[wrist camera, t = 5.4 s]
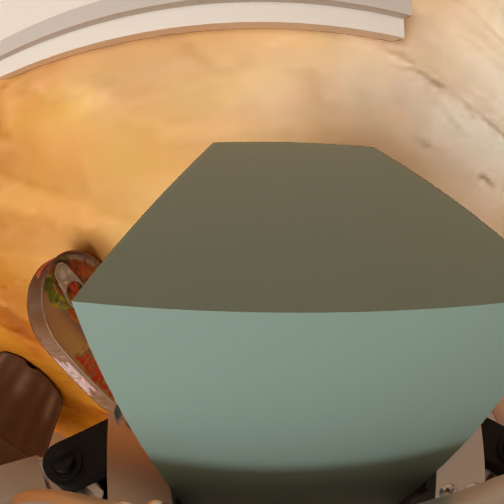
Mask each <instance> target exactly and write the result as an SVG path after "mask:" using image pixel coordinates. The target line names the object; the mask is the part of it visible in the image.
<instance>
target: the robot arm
mask: <svg viewBox="0 0 504 504" xmlns="http://www.w3.org/2000/svg"><path fill="white" fill-rule="evenodd" d="M492 413H493V416H494V418H495V420H496V422H495V421H493V420H491V419H489V418H486V419H485V420H484V422H483V423H482V424H481V425H480V426H479V427H478V429H477V430H476V431H475V432H474V433H473V434H472V435H471V437H470V438H469V439H468V440H467V441H466V442H465V443H464V444H463V445H462V446H461V447H460V448H459V450H458V451H457V452H456V453H455V454H454V455H453V456H452V457H451V458H450V459H449V460H448V461H447V462H446V463H445V464H444V465H443V466H442V467H440V468H439V469H438V470H437V471H436V472H435V473H434V474H433V475H432V476H431V477H430V478H429V479H428V480H426V481H425V482H424V483H423V484H422V485H421V486H420V487H418V488H417V489H416V490H415V491H414V492H412V493H411V494H410V495H409V496H408V497H406V498H405V499H404V500H403V501H401V502H400V503H399V504H504V396H503V397H502V399H501V400H500V401H499V403H498V404H497V405H496V407H495V408H494V409H493V410H492ZM0 504H181V502H180V501H179V500H178V498H177V497H176V494H175V491H174V490H173V489H172V487H171V486H170V484H167V483H166V482H165V480H164V479H163V478H162V476H161V475H160V473H159V472H158V470H157V469H156V467H155V466H154V464H153V463H152V461H151V460H150V458H149V457H148V455H147V454H146V452H145V451H144V449H143V447H142V446H141V444H140V443H139V441H138V439H137V438H136V436H135V434H134V433H133V431H132V429H131V428H130V426H129V424H128V422H127V421H126V419H125V417H124V415H123V414H122V412H121V410H120V408H119V406H118V404H117V402H116V401H115V400H114V401H113V403H112V404H111V406H110V408H109V413H108V419H106V420H104V421H102V422H100V423H98V424H96V425H94V426H92V427H90V428H88V429H86V430H84V431H82V432H79V433H77V434H75V435H73V436H71V437H69V438H67V439H65V440H62V441H60V442H58V443H56V444H54V445H53V446H51V447H50V448H49V449H48V450H47V451H46V453H45V455H44V456H43V457H39V456H38V455H35V456H32V457H28V458H25V459H21V460H18V461H14V462H11V463H7V464H3V465H0Z"/></svg>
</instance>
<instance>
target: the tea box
mask: <svg viewBox="0 0 504 504" xmlns="http://www.w3.org/2000/svg"><path fill="white" fill-rule="evenodd" d="M72 304H73V307H74V310H75V312H76V315H77V317H78V320H79V323H80V325H81V328H82V330H83V332H84V335H85V337H86V340H87V342H88V344H89V347H90V349H91V351H92V353H93V356H94V358H95V360H96V362H97V364H98V367H99V369H100V371H101V373H102V375H103V377H104V379H105V381H106V383H107V385H108V387H109V389H110V391H111V393H112V395H113V397H114V399H115V401H116V402H117V404H118V406H119V408H120V410H121V412H122V414H123V415H124V417H125V419H126V421H127V422H128V424H129V426H130V428H131V429H132V431H133V433H134V434H135V436H136V438H137V439H138V441H139V443H140V444H141V446H142V447H143V449H144V451H145V452H146V454H147V455H148V457H149V458H150V460H151V461H152V463H153V464H154V466H155V467H156V469H157V470H158V472H159V473H160V475H161V476H162V478H163V479H164V480H165V482H166V483H167V484H170V486H171V487H172V489H173V490H174V491H175V494H176V497H177V498H178V500H179V501H180V502H181V504H399V503H400V502H401V501H403V500H404V499H405V498H406V497H408V496H409V495H410V494H411V493H412V492H414V491H415V490H416V489H417V488H418V487H420V486H421V485H422V484H423V483H424V482H425V481H426V480H428V479H429V478H430V477H431V476H432V475H433V474H434V473H435V472H436V471H437V470H438V469H439V468H440V467H442V466H443V465H444V464H445V463H446V462H447V461H448V460H449V459H450V458H451V457H452V456H453V455H454V454H455V453H456V452H457V451H458V450H459V448H460V447H461V446H462V445H463V444H464V443H465V442H466V441H467V440H468V439H469V438H470V437H471V435H472V434H473V433H474V432H475V431H476V430H477V429H478V427H479V426H480V425H481V424H482V423H483V422H484V420H485V419H486V418H487V417H488V415H489V414H490V413H491V412H492V410H493V409H494V408H495V407H496V405H497V404H498V403H499V401H500V400H501V399H502V397H503V396H504V239H503V238H502V237H501V236H500V235H498V234H497V233H496V232H495V231H494V230H492V229H491V228H490V227H489V226H487V225H486V224H485V223H484V222H482V221H481V220H480V219H479V218H477V217H476V216H475V215H474V214H472V213H471V212H470V211H468V210H467V209H466V208H464V207H463V206H462V205H460V204H459V203H458V202H456V201H455V200H454V199H452V198H451V197H449V196H448V195H447V194H445V193H444V192H442V191H441V190H439V189H438V188H437V187H435V186H434V185H432V184H431V183H429V182H428V181H426V180H425V179H423V178H422V177H420V176H419V175H417V174H416V173H414V172H413V171H411V170H409V169H408V168H406V167H405V166H403V165H402V164H400V163H398V162H397V161H395V160H393V159H392V158H390V157H389V156H387V155H385V154H384V153H382V152H380V151H378V150H377V149H375V148H373V147H363V146H351V145H337V144H319V143H294V142H217V143H213V144H212V145H211V146H209V147H208V148H207V149H206V150H205V151H204V152H203V153H202V154H201V155H200V156H199V157H198V158H197V159H196V160H195V161H194V162H193V163H192V164H191V165H190V166H189V167H188V168H187V169H186V170H185V171H184V172H183V173H182V174H181V175H180V176H179V177H178V178H177V179H176V180H175V181H174V182H173V183H172V184H171V185H170V186H169V188H168V189H167V190H166V191H165V192H164V193H163V194H162V195H161V196H160V197H159V198H158V199H157V200H156V201H155V202H154V203H153V205H152V206H151V207H150V208H149V209H148V210H147V211H146V212H145V213H144V214H143V215H142V217H141V218H140V219H139V220H138V221H137V222H136V223H135V224H134V226H133V227H132V228H131V229H130V230H129V231H128V232H127V233H126V235H125V236H124V237H123V238H122V239H121V240H120V242H119V243H118V244H117V245H116V246H115V247H114V249H113V250H112V251H111V252H110V253H109V255H108V256H107V257H106V258H105V259H104V261H103V262H102V263H101V264H100V266H99V267H98V268H97V269H96V270H95V272H94V273H93V274H92V275H91V277H90V278H89V279H88V280H87V282H86V283H85V284H84V286H83V287H82V288H81V289H80V291H79V292H78V293H77V295H76V296H75V297H74V299H73V300H72Z"/></svg>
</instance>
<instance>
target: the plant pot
mask: <svg viewBox="0 0 504 504" xmlns="http://www.w3.org/2000/svg"><path fill="white" fill-rule="evenodd" d="M62 404H63V401H62V397H61V395H60V393H59V392H58V390H57V389H56V387H55V386H54V385H53V383H52V382H51V381H50V380H49V379H48V378H47V377H46V376H45V375H44V374H43V373H42V372H41V371H39V370H38V369H33V368H31V367H30V366H29V365H28V364H27V362H26V360H24V359H23V358H21V357H19V356H17V355H14V354H11V353H8V352H0V465H3V464H7V463H11V462H14V461H18V460H21V459H25V458H28V457H32V456H35V455H38V456H39V457H43V456H44V455H45V453H46V451H47V450H48V447H49V444H50V441H51V438H52V434H53V431H54V428H55V425H56V422H57V419H58V416H59V414H60V411H61V408H62Z"/></svg>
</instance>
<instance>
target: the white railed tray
mask: <svg viewBox="0 0 504 504" xmlns="http://www.w3.org/2000/svg"><path fill="white" fill-rule="evenodd" d="M411 16H412V2H411V0H0V80H6V79H9V78H11V77H13V76H16V75H18V74H21V73H23V72H26V71H28V70H31V69H34V68H36V67H39V66H42V65H45V64H47V63H50V62H53V61H56V60H59V59H62V58H66V57H69V56H72V55H76V54H79V53H83V52H86V51H90V50H94V49H98V48H101V47H106V46H110V45H114V44H119V43H123V42H128V41H133V40H139V39H144V38H150V37H156V36H163V35H170V34H178V33H186V32H196V31H207V30H222V29H250V28H270V29H298V30H313V31H324V32H334V33H343V34H350V35H357V36H364V37H370V38H376V39H381V40H387V41H396V40H399V39H403V38H404V19H405V18H408V17H411Z"/></svg>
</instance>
